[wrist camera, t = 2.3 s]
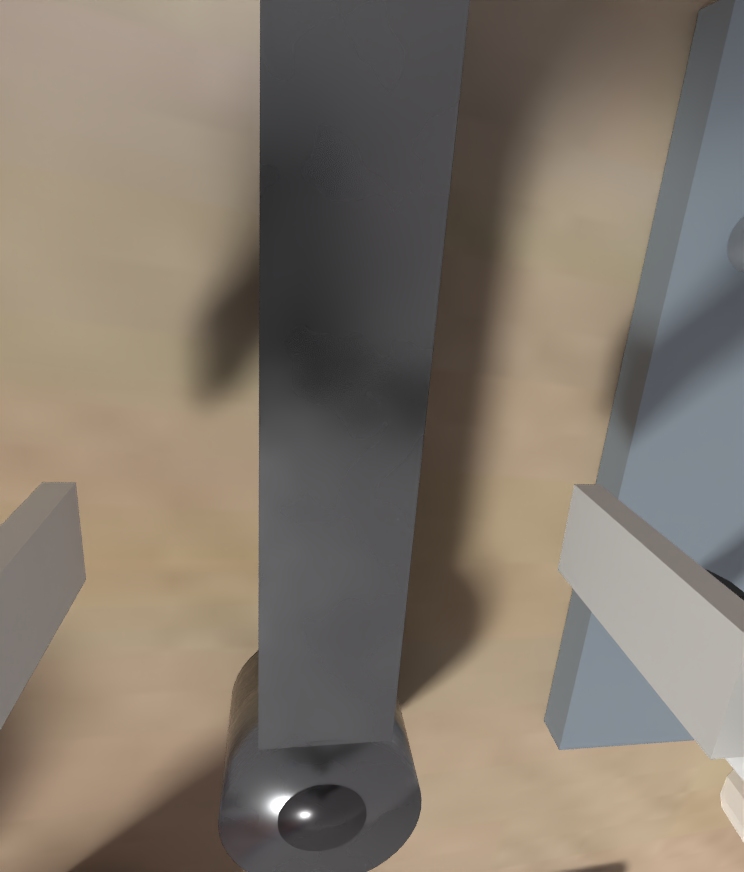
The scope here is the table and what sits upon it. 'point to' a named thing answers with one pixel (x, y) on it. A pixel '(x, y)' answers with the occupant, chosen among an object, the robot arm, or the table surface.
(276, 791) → the dark grey bar
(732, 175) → the peg rack
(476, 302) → the table surface
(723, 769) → the table surface
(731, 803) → the white cup
